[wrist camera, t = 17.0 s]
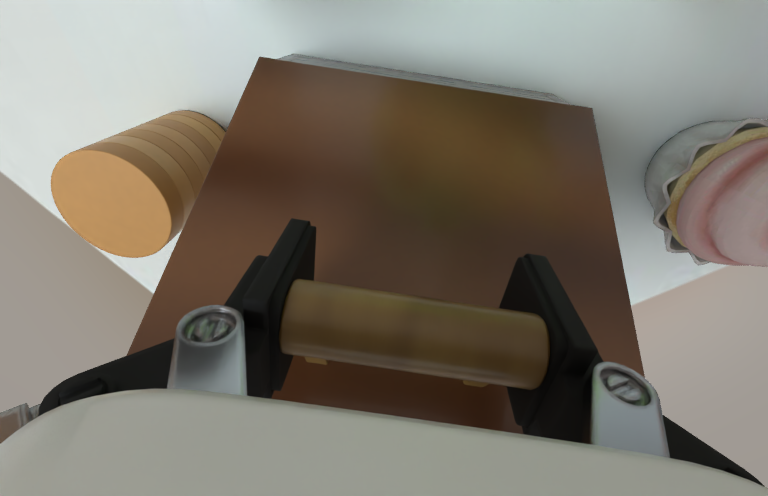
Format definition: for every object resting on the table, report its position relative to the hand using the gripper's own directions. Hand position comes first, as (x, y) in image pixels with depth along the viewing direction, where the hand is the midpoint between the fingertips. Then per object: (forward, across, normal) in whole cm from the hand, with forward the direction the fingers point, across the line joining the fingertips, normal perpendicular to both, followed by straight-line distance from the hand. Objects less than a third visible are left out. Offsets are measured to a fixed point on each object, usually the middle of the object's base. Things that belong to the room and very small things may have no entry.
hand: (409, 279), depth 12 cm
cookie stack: (+17, +15, +4) cm, 23 cm away
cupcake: (+17, -19, -1) cm, 26 cm away
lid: (+4, 0, 0) cm, 4 cm away
